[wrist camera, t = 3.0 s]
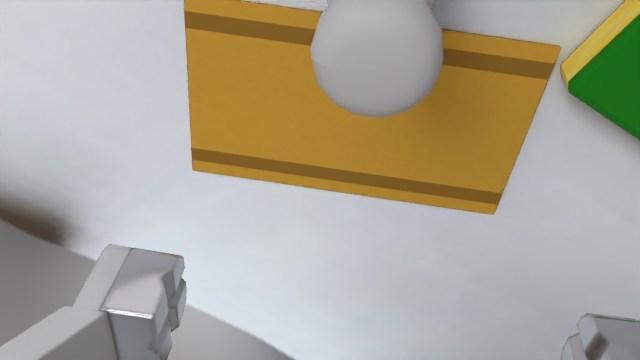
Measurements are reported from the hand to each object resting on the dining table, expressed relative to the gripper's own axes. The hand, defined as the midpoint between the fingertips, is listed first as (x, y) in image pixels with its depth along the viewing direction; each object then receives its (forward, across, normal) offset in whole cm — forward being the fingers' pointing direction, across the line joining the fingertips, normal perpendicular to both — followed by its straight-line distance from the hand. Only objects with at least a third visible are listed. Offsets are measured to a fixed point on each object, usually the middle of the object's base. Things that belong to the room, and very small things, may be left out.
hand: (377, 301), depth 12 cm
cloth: (+22, 0, +9) cm, 23 cm away
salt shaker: (+22, 0, -1) cm, 22 cm away
